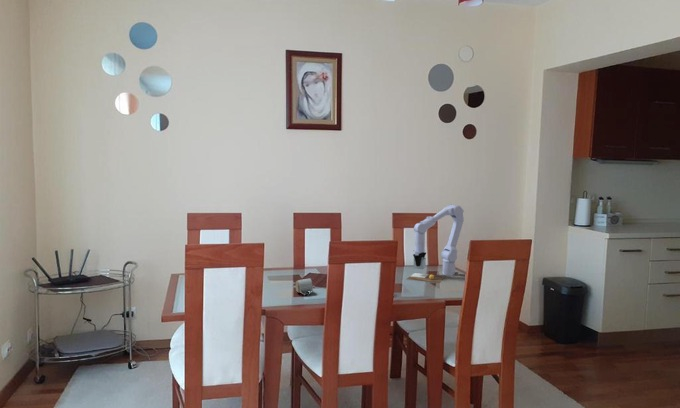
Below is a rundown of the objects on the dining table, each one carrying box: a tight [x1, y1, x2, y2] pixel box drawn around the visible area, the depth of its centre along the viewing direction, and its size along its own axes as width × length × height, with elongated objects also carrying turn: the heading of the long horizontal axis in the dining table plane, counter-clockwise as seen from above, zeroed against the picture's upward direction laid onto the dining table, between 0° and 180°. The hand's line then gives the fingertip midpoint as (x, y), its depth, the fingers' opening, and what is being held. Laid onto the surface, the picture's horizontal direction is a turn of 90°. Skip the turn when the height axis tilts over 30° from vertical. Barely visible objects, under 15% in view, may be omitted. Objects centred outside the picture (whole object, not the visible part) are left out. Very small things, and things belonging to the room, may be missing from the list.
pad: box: [409, 272, 430, 278], centre depth 288 cm, size 9×9×1 cm
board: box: [405, 274, 447, 284], centre depth 283 cm, size 18×20×1 cm
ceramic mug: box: [294, 278, 314, 294], centre depth 251 cm, size 11×8×8 cm
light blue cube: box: [413, 257, 427, 270], centre depth 287 cm, size 6×6×6 cm
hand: (419, 265), depth 288 cm, fingers closed on light blue cube, 6 cm apart
